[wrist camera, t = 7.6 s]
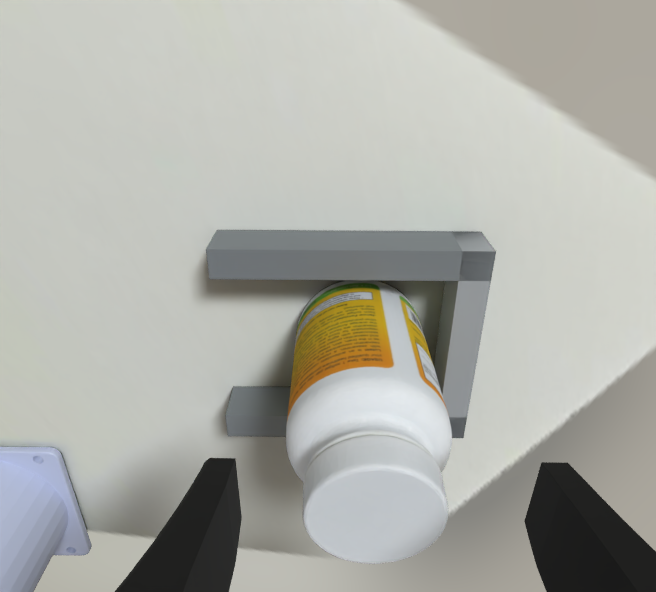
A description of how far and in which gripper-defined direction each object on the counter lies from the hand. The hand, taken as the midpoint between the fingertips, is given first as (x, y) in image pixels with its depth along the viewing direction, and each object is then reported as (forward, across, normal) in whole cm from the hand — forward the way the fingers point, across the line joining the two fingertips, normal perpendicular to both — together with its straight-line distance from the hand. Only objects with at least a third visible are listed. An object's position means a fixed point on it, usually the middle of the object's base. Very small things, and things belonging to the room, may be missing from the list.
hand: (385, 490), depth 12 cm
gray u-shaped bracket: (+10, 0, +2) cm, 11 cm away
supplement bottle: (+11, 0, +2) cm, 11 cm away
